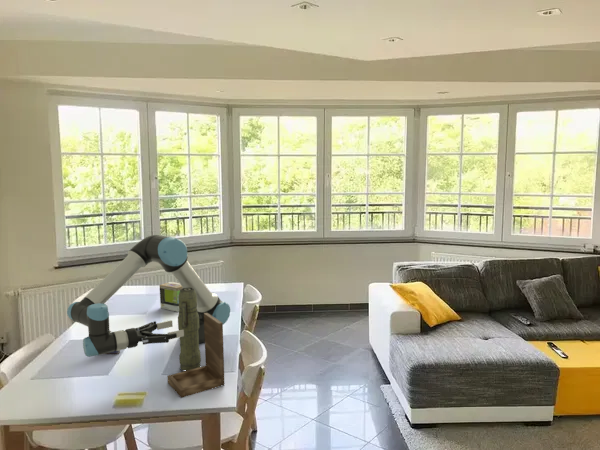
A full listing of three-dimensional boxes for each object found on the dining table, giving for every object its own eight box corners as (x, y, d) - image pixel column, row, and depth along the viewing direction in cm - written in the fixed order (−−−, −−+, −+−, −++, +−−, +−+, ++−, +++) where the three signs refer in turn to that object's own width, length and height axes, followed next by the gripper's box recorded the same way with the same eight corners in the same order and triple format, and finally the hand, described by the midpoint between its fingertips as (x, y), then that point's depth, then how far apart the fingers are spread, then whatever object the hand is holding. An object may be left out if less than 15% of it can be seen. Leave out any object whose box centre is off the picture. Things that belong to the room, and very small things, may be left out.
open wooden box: (209, 371, 205) (207, 312, 202) (224, 385, 193) (222, 322, 189) (167, 382, 195) (164, 321, 192) (181, 398, 183) (178, 332, 179)
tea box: (190, 308, 291) (189, 284, 288) (177, 312, 282) (176, 288, 280) (172, 304, 298) (171, 280, 296) (159, 308, 290) (158, 284, 288)
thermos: (203, 361, 216) (200, 285, 210) (198, 373, 204) (195, 292, 199) (183, 361, 215) (179, 285, 210) (177, 373, 204) (173, 293, 198)
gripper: (118, 338, 203) (168, 327, 215) (135, 358, 182) (188, 346, 194) (117, 321, 202) (167, 311, 213) (134, 339, 181) (188, 328, 193)
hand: (177, 328), depth 204 cm, fingers open, 13 cm apart
